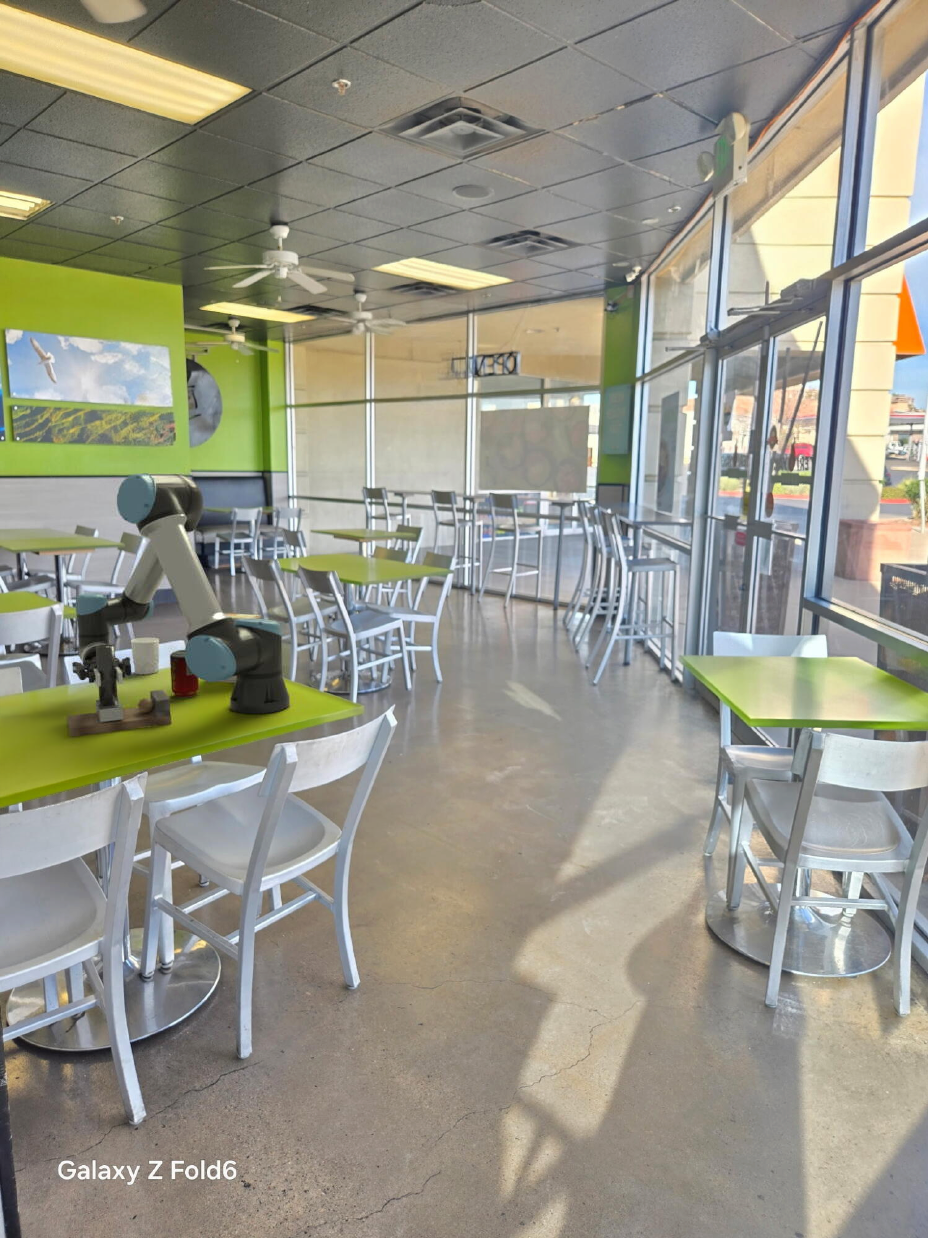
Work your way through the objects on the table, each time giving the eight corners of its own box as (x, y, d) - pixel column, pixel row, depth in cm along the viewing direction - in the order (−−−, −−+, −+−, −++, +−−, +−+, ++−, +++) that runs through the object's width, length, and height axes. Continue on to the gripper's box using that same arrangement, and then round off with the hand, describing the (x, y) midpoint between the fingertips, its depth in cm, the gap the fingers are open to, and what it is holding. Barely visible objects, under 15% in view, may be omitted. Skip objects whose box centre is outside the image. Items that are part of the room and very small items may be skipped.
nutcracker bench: (163, 712, 203) (162, 689, 202) (171, 723, 193) (170, 699, 192) (67, 723, 192) (65, 699, 191) (70, 736, 183) (68, 711, 182)
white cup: (150, 676, 239) (149, 643, 237) (127, 674, 240) (125, 641, 239) (165, 670, 246) (164, 638, 245) (142, 668, 248) (140, 636, 246)
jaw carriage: (118, 709, 196) (114, 642, 193) (123, 719, 189) (119, 649, 186) (96, 712, 194) (91, 643, 191) (100, 722, 186) (95, 651, 183)
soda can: (204, 693, 221) (202, 650, 218) (187, 700, 214) (185, 655, 212) (184, 690, 223) (181, 647, 221) (166, 697, 217) (163, 652, 214)
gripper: (135, 670, 210) (149, 690, 190) (62, 677, 201) (70, 699, 181) (133, 642, 208) (148, 659, 188) (60, 648, 200) (67, 667, 180)
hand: (109, 679), depth 185 cm, fingers closed on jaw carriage, 4 cm apart
